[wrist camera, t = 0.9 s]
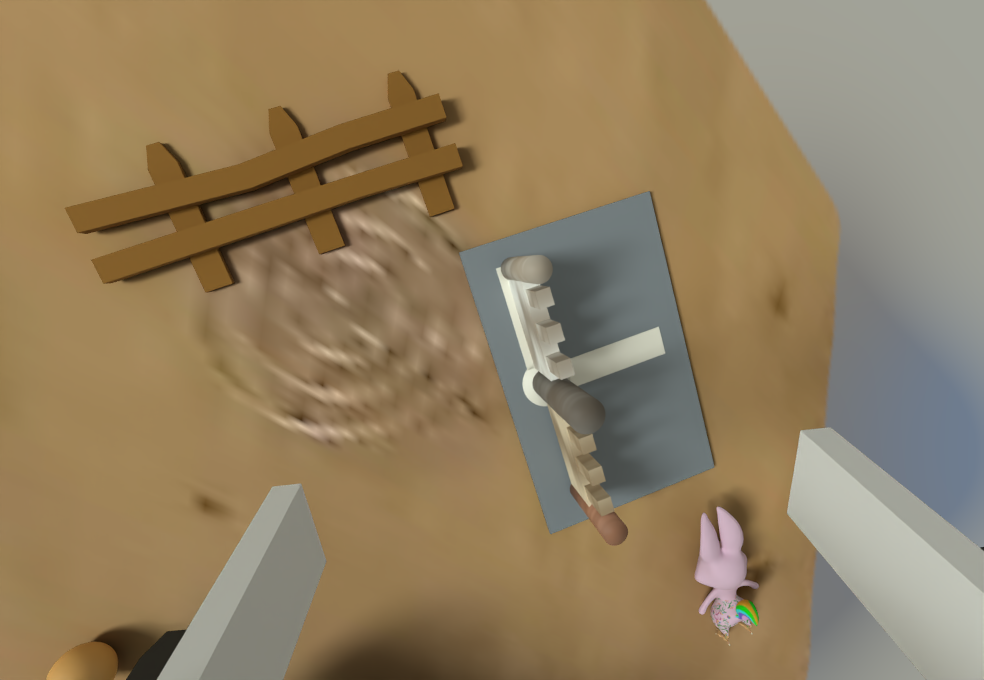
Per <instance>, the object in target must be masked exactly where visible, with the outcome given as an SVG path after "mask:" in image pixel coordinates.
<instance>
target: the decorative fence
mask: <svg viewBox="0 0 984 680" xmlns="http://www.w3.org/2000/svg"><path fill="white" fill-rule="evenodd" d="M388 100H389V103H390V106H391V108H390V109H387V110H384V111H381V112H378V113H374V114H371V115H368V116H365V117H362V118H358V119H355V120H352V121H349V122H346V123H343V124H339V125H337V126H334V127H332V128H329V129H327V130H324V131H322V132H319V133H316V134H314V135H311V136H309V137H306V138H304V139H303V138H302V135H301V133H300V130H299V128H298V126H297V125H296V124H295V123H294V121H293V120H292V119H291V118H290V117H289V115H288V114H287V113H286V112H285V111H284V110H283V108H282V107H281V106H278V107H275V108H271V109H269V131H270V136H271V138H272V141H273V143H274V145H275V148H276V150H274V151H271V152H269V153H266V154H263V155H261V156H258V157H256V158H253V159H251V160H248V161H246V162H243V163H241V164H238V165H234V166H230V167H226V168H222V169H218V170H214V171H210V172H206V173H202V174H198V175H194V176H190V177H186V175H185V172H184V170H183V168H182V166H181V164H180V162H179V161H178V160H177V159H176V158H175V157H174V156H173V155H172V154H171V153H170V152H169V151H168V149H167V148H166V147H165V146H164V145H163V144H162V143H160V142H157V143H154V144H150V145H147V146H146V150H147V162H148V171H149V173H150V175H151V177H152V180H153V182H154V184H155V185H154V186H150V187H146V188H142V189H138V190H134V191H130V192H126V193H122V194H118V195H114V196H110V197H106V198H102V199H98V200H94V201H90V202H86V203H82V204H78V205H74V206H70V207H66V208H65V210H66V212H67V214H68V216H69V218H70V219H71V221H72V223H73V225H74V227H75V229H76V231H77V233H84V234H88V233H92V232H96V231H99V230H103V229H107V228H111V227H115V226H119V225H123V224H126V223H130V222H134V221H138V220H142V219H146V218H150V217H154V216H157V215H161V214H165V213H168V214H169V216H170V218H171V220H172V222H173V224H174V226H175V229H176V231H177V232H175V233H172V234H169V235H166V236H163V237H160V238H157V239H154V240H151V241H148V242H144V243H141V244H138V245H135V246H132V247H129V248H126V249H123V250H120V251H117V252H114V253H111V254H108V255H105V256H101V257H98V258H95V259H92V262H93V264H94V266H95V268H96V270H97V272H98V274H99V276H100V278H101V280H102V282H103V284H105V283H114V282H117V281H120V280H123V279H126V278H129V277H132V276H135V275H138V274H141V273H144V272H147V271H150V270H153V269H156V268H159V267H162V266H165V265H168V264H171V263H174V262H177V261H180V260H183V259H186V258H190V260H191V263H192V265H193V267H194V269H195V271H196V273H197V275H198V277H199V280H200V282H201V284H202V286H203V288H204V290H205V292H210V291H213V290H216V289H219V288H222V287H225V286H228V285H230V284H233V283H235V282H234V280H233V278H232V276H231V274H230V271H229V269H228V267H227V265H226V263H225V260H224V258H223V256H222V254H221V252H220V249H219V247H222V246H225V245H228V244H231V243H234V242H237V241H240V240H243V239H246V238H249V237H252V236H255V235H258V234H261V233H264V232H267V231H270V230H273V229H276V228H279V227H282V226H284V225H287V224H290V223H293V222H296V221H299V220H302V219H305V221H306V223H307V226H308V228H309V230H310V233H311V235H312V238H313V240H314V243H315V245H316V247H317V250H318V252H319V254H322V253H325V252H328V251H331V250H334V249H337V248H340V247H343V246H345V243H344V241H343V238H342V236H341V233H340V231H339V228H338V226H337V223H336V221H335V218H334V216H333V213H332V211H331V209H334V208H337V207H339V206H342V205H345V204H348V203H351V202H354V201H357V200H360V199H363V198H366V197H369V196H372V195H376V194H379V193H382V192H386V191H389V190H392V189H396V188H399V187H402V186H405V185H409V184H412V183H415V182H418V185H419V187H420V190H421V193H422V196H423V199H424V201H425V204H426V207H427V210H428V213H429V215H430V217H432V216H435V215H438V214H441V213H444V212H447V211H450V210H453V209H454V205H453V202H452V200H451V197H450V194H449V191H448V188H447V185H446V182H445V179H444V176H443V174H445V173H448V172H452V171H455V170H458V169H461V168H462V167H463V165H462V162H461V159H460V156H459V153H458V150H457V147H456V144H455V143H454V144H451V145H448V146H444V147H441V148H438V149H435V150H434V147H433V144H432V142H431V139H430V136H429V133H428V130H427V127H429V126H432V125H435V124H438V123H441V122H444V121H446V114H445V111H444V108H443V105H442V102H441V99H440V96H439V93H438V94H435V95H432V96H429V97H425V98H422V99H419V100H417V98H416V95H415V92H414V90H413V88H412V87H411V86H410V84H409V83H408V82H407V80H406V79H405V78H404V77H403V75H402V74H401V73H400V71H396V72H392V73H389V74H388ZM398 136H401V137H402V140H403V142H404V145H405V148H406V151H407V154H408V157H409V158H406V159H403V160H400V161H397V162H394V163H390V164H387V165H384V166H381V167H378V168H375V169H371V170H368V171H365V172H362V173H359V174H356V175H352V176H349V177H346V178H343V179H340V180H337V181H334V182H330V183H327V184H324V185H321V183H320V180H319V178H318V175H317V173H316V170H315V168H314V166H316V165H319V164H321V163H324V162H326V161H329V160H331V159H334V158H336V157H338V156H341V155H343V154H346V153H348V152H351V151H354V150H357V149H360V148H363V147H366V146H370V145H373V144H376V143H379V142H382V141H385V140H388V139H391V138H394V137H398ZM286 177H288V179H289V182H290V184H291V187H292V189H293V192H294V194H293V195H290V196H286V197H283V198H280V199H277V200H274V201H271V202H268V203H264V204H261V205H258V206H255V207H252V208H249V209H246V210H243V211H240V212H237V213H233V214H230V215H227V216H224V217H221V218H218V219H215V220H212V221H209V222H207V221H206V219H205V216H204V214H203V212H202V210H201V208H200V204H204V203H208V202H212V201H215V200H219V199H223V198H227V197H231V196H235V195H239V194H242V193H246V192H250V191H254V190H257V189H259V188H262V187H264V186H267V185H269V184H272V183H274V182H276V181H279V180H281V179H284V178H286Z"/></svg>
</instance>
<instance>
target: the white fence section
mask: <svg viewBox="0 0 984 680" xmlns="http://www.w3.org/2000/svg"><path fill="white" fill-rule="evenodd" d="M552 272H553V267H552V263H551V261H550V260H549V259H548V258H547V257H545V256H543V255H531V256H518V257H509V258H507V259H505V260H504V261H503V262H502V264H501V273H502V275H503V277H504V278H506V279H507V280H508V283H509V286H510V289H511V293H512V296H513V299H514V302H515V306H516V309H517V312H518V315H519V319H520V322H521V325H522V328H523V332H524V335H525V338H526V341H527V345H528V348H529V351H530V354H531V358H532V361H533V364H534V367H535V369H537V370H538V372H537V373H536V374H535V376H534V378H533V382H532V385H533V389H534V391H535V392H536V393H537V394H538V395H539V396H540V397H541V398H542V399H543V400H544V401H545V402H546V403H547V404H548V405H549V406H550V407H551V408H552V409H553V410H554V411H555V412H556V413H557V414H559V415H560V416H561V417H562V418H563V419H564V420H565V421H566V422H567V423H568V424H569V425H570V426H571V427H572V428H573V429H574V430H575V431H576V432H578V433H580V434H592V433H594V432H596V431H597V430H599V429H600V428H601V426H602V425H603V423H604V421H605V415H606V414H605V409H604V406H603V405H602V403H601V402H600V401H598V400H597V399H595V398H594V397H593V396H591V395H590V394H588V393H587V392H585V391H584V390H583V389H581V388H580V387H578V386H577V385H575V384H574V383H572V382H571V381H570V380H568V379H567V378H568V377H571V376H573V375H575V373H574V369H573V366H572V362H571V359H570V358H569V357H567V356H566V355H564V354H562V353H560V350H559V347H558V344H557V343H559V342H562V341H565V338H564V335H563V331H562V328H561V324H560V323H559V322H556V321H553V320H551V319H550V316H549V313H548V310H547V307H550V306H552V305H555V304H554V300H553V297H552V293H551V290H550V287H548V286H541V285H540V284H543V283H545V282H547V281H548V280H549V279H550V277H551V275H552Z"/></svg>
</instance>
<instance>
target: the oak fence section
mask: <svg viewBox="0 0 984 680" xmlns="http://www.w3.org/2000/svg"><path fill="white" fill-rule="evenodd" d="M547 406H548V409H549V412H550V416H551V419H552V422H553V425H554V429H555V432H556V435H557V438H558V442H559V445H560V448H561V451H562V455H563V458H564V461H565V465H566V468H567V471H568V474H569V478H570V481H571V486H570V493H571V495H572V496H573V497H574V499H575V500H576V501H577V503H578V504H579V506H580V507H581V508H582V510H583V511H584V512H585V514H586V515H587V517H588V518H589V519H590V521H591V522H592V523H593V525H594V526H595V527H596V529H597V530H598V532H599V533H600V534H601V536H602V537H603V538H604V540H605V541H606V542H607V543H608V544H609V545H619V544H621V543H622V542H623V541H624V540H625V539H626V537H627V535H628V529H627V527H626V525H625V524H624V523H623V522H622V520H621V519H620V518H619V517H618V516H617V514H616V513H615V512H614V507H613V504H612V501H611V497H610V496H609V495H608V493H607V492H606V491H605V490H604V489H603V488H602V487H601V486H600V483H602V482H605V481H606V480H605V476H604V473H603V469H602V466H601V465H600V464H599V463H598V462H597V461H596V460H595V459H594V458H593V457H592V456H591V455H590V452H593V451H595V450H597V449H596V445H595V442H594V438H593V435H592V434H580V433H578V432H576V431H575V430H574V429H573V428H572V427H571V426H570V425H569V424H568V423H567V422H566V421H565V420H564V419H563V418H562V417H561V416H560V415H559V414H557V413H556V412H555V411H554V410H553V409H552V408H551V407H550V406H549V405H548V404H547Z"/></svg>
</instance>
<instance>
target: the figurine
mask: <svg viewBox="0 0 984 680" xmlns="http://www.w3.org/2000/svg"><path fill="white" fill-rule="evenodd" d="M117 669H118V658H117V654H116V652H115V651H114V649H113V648H112V647H111V646H109V645H107V644H105V643H102V642H88V643H84V644H81V645H78V646H76V647H74V648H72V649H71V650H69V651H67V652H66V653H65V654H64V655H62V656H61V657H60V658H59V659H58V660H57V661H56V663H55V664H54V665H53V667H52V668H51V670H50V672H49V674H48V676H47V679H46V680H114V678H115V675H116V673H117Z"/></svg>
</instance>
